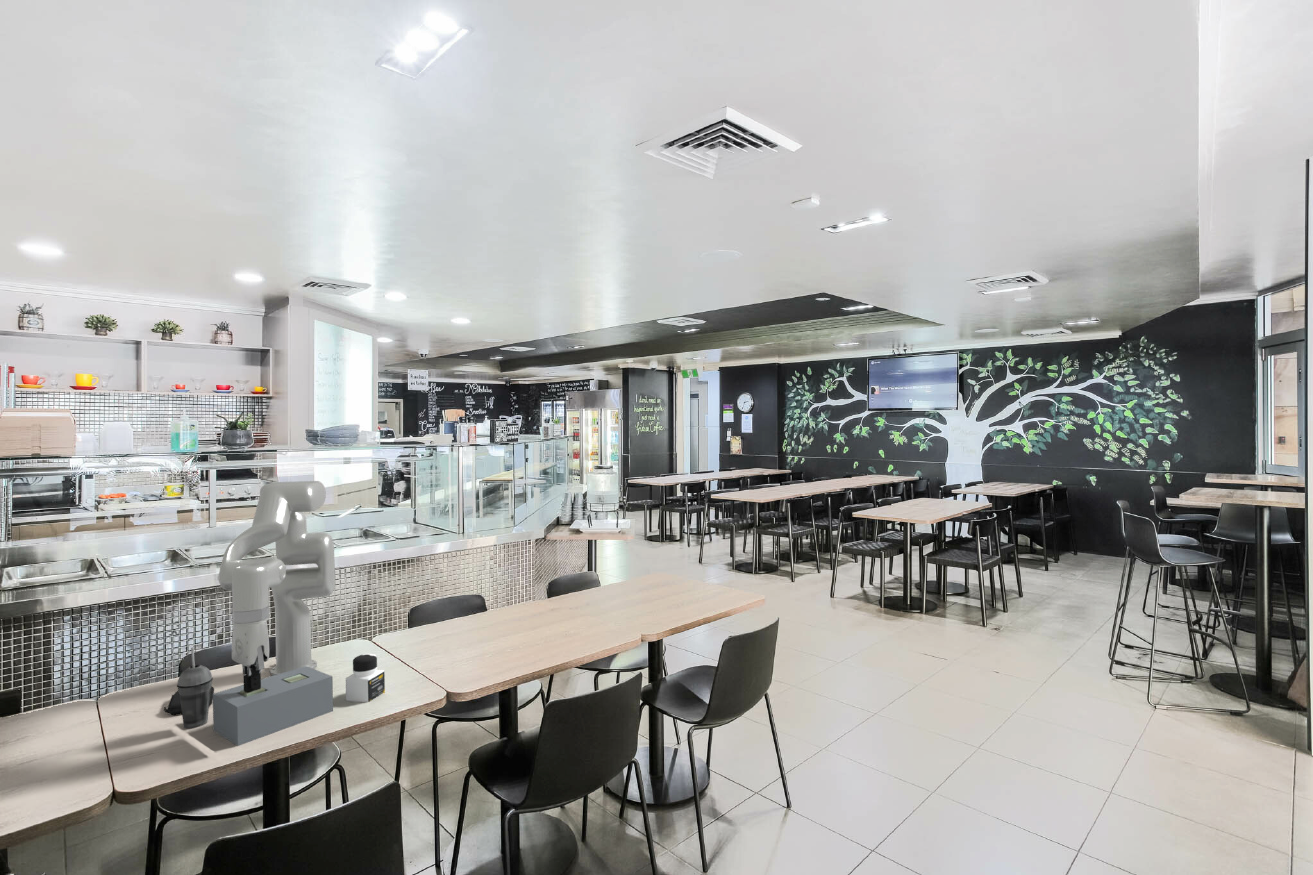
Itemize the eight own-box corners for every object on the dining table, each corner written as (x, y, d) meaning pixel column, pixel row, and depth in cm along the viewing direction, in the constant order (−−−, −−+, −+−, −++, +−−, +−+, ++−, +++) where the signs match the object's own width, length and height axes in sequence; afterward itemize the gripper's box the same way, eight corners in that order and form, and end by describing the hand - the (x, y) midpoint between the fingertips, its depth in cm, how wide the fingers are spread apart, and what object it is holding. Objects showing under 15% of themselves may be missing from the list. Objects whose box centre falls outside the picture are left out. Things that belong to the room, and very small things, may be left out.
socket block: (213, 734, 152) (212, 693, 152) (306, 702, 170) (306, 665, 170) (238, 750, 144) (237, 706, 144) (333, 714, 162) (332, 676, 162)
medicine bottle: (368, 705, 167) (367, 661, 167) (345, 704, 169) (344, 659, 169) (385, 695, 174) (384, 652, 174) (362, 693, 176) (362, 650, 176)
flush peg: (284, 714, 161) (283, 679, 161) (300, 708, 164) (299, 674, 164) (291, 717, 158) (290, 682, 158) (307, 712, 162) (307, 677, 162)
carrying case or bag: (168, 701, 174) (161, 720, 162) (167, 690, 174) (161, 708, 162) (214, 692, 180) (211, 710, 167) (214, 681, 180) (211, 698, 167)
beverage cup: (185, 737, 151) (183, 655, 151) (172, 730, 155) (170, 650, 155) (219, 725, 157) (217, 646, 157) (205, 719, 161) (204, 641, 161)
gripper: (221, 614, 154) (222, 688, 154) (247, 623, 146) (248, 702, 146) (254, 607, 160) (255, 679, 160) (281, 616, 152) (283, 691, 152)
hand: (252, 690), depth 153 cm, fingers closed
